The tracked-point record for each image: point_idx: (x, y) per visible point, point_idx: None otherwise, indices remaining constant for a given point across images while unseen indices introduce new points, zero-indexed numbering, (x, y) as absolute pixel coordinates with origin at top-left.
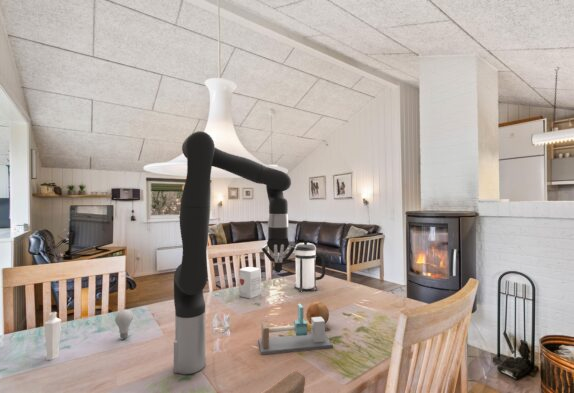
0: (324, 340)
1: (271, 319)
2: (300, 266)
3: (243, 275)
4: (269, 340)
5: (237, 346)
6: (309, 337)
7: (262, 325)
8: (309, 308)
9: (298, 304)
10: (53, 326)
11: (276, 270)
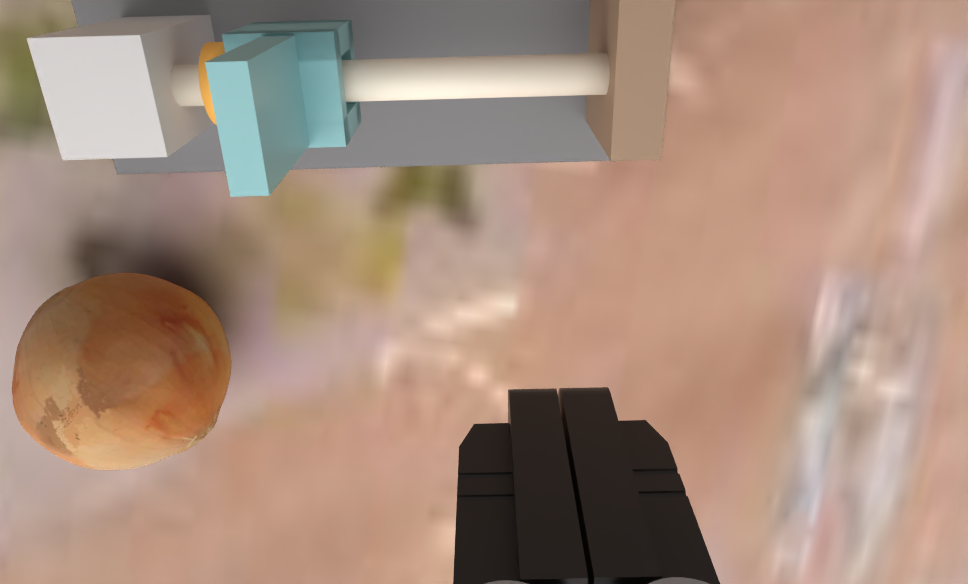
0: (121, 18)
1: None
2: None
3: None
4: (566, 112)
5: (805, 97)
6: None
7: (668, 72)
8: (178, 388)
9: (261, 173)
10: None
11: (614, 412)
